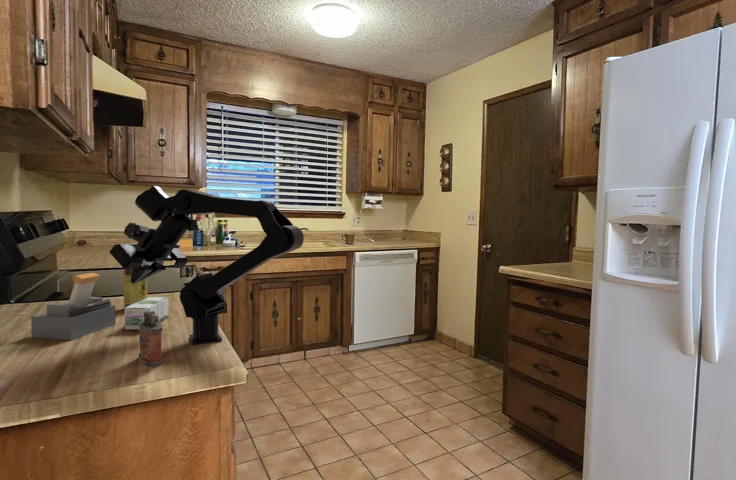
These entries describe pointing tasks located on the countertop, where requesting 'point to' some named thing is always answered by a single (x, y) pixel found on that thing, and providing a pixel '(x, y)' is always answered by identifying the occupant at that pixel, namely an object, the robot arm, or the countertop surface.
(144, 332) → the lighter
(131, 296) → the sauce bottle
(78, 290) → the lever
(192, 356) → the countertop surface
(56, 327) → the block
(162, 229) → the robot arm
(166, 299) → the syrup box
